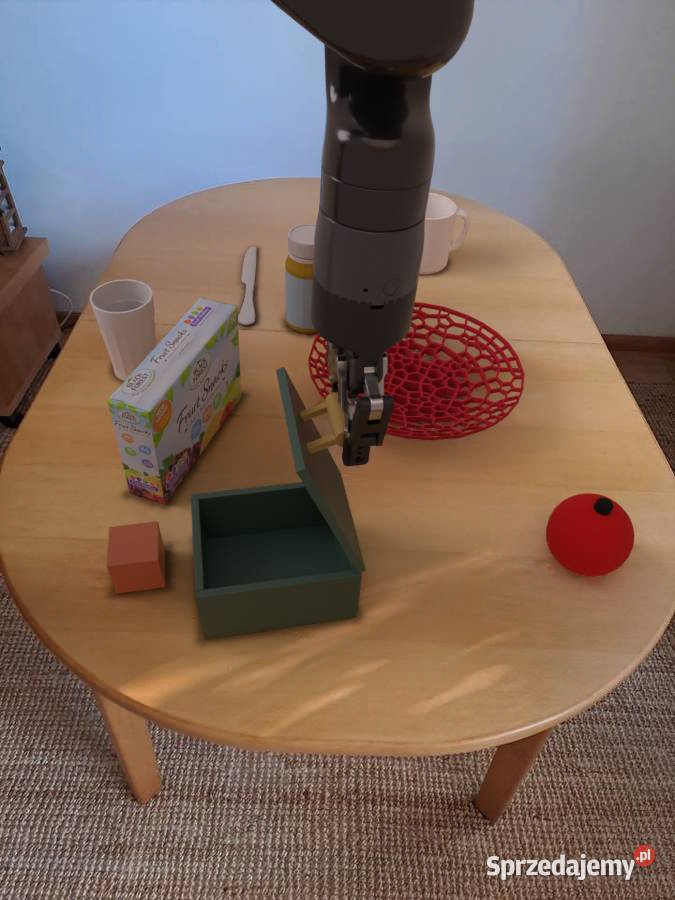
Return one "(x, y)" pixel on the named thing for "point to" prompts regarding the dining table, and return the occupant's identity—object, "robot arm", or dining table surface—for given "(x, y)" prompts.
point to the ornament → (590, 534)
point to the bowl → (439, 379)
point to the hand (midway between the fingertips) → (348, 439)
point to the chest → (267, 562)
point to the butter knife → (248, 287)
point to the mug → (440, 232)
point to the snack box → (178, 399)
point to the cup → (125, 322)
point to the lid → (320, 462)
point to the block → (136, 557)
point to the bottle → (299, 278)
